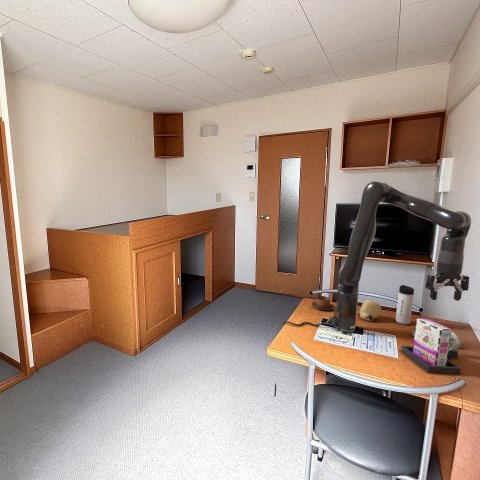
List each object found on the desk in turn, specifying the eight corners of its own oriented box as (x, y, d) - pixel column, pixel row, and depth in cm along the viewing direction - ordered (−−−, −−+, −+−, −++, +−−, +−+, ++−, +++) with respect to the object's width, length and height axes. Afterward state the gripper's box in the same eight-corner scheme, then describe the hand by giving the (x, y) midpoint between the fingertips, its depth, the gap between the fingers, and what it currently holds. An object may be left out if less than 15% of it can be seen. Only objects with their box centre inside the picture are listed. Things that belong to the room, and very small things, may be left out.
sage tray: (429, 347, 144) (429, 341, 143) (411, 335, 155) (412, 330, 155) (461, 348, 142) (462, 343, 142) (441, 336, 154) (442, 331, 153)
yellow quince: (359, 321, 180) (351, 312, 175) (368, 304, 182) (361, 294, 177) (377, 327, 171) (369, 318, 166) (387, 309, 173) (379, 299, 169)
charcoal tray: (427, 372, 124) (428, 366, 124) (400, 351, 140) (401, 345, 140) (460, 374, 123) (461, 368, 123) (428, 352, 139) (429, 346, 139)
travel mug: (404, 320, 172) (408, 285, 169) (412, 325, 166) (417, 289, 163) (392, 319, 173) (396, 284, 170) (400, 325, 167) (404, 288, 163)
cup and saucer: (313, 302, 199) (314, 293, 198) (335, 306, 192) (336, 297, 191) (309, 309, 189) (310, 299, 188) (332, 313, 182) (333, 303, 181)
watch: (443, 350, 141) (446, 327, 139) (461, 360, 133) (465, 335, 131) (431, 351, 140) (434, 327, 138) (448, 360, 132) (452, 336, 130)
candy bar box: (447, 367, 126) (452, 329, 124) (435, 368, 126) (441, 329, 123) (421, 353, 137) (426, 317, 135) (411, 353, 137) (415, 318, 134)
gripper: (462, 259, 129) (456, 297, 132) (424, 259, 131) (419, 296, 134) (478, 263, 122) (471, 303, 125) (437, 263, 124) (432, 302, 126)
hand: (444, 299), depth 129 cm, fingers open, 8 cm apart
